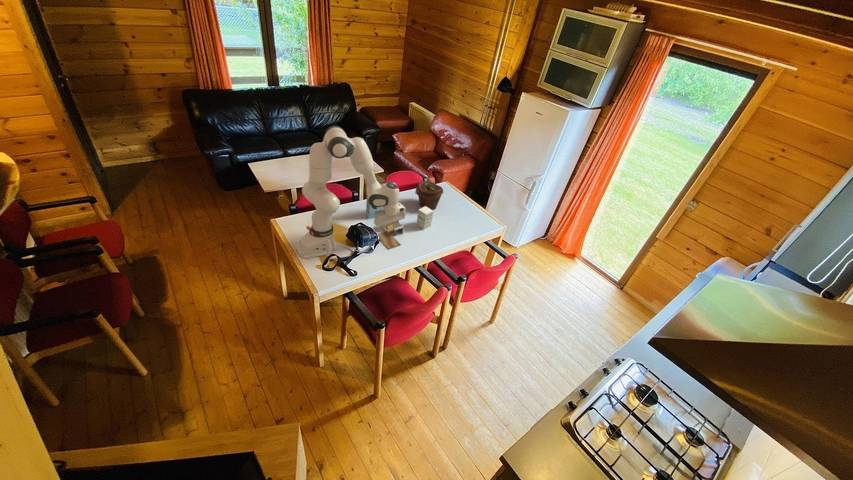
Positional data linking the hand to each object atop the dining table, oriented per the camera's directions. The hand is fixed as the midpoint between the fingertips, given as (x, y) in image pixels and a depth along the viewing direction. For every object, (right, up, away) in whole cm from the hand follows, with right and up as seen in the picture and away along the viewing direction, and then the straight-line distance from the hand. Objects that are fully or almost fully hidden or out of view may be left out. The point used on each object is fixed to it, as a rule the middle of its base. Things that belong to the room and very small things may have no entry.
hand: (389, 227), depth 224 cm
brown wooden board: (-1, -8, +6) cm, 10 cm away
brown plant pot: (+23, +17, +44) cm, 53 cm away
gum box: (-9, +10, +27) cm, 30 cm away
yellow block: (-3, +1, +4) cm, 5 cm away
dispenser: (+1, -1, +15) cm, 15 cm away
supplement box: (+21, +2, +23) cm, 31 cm away
